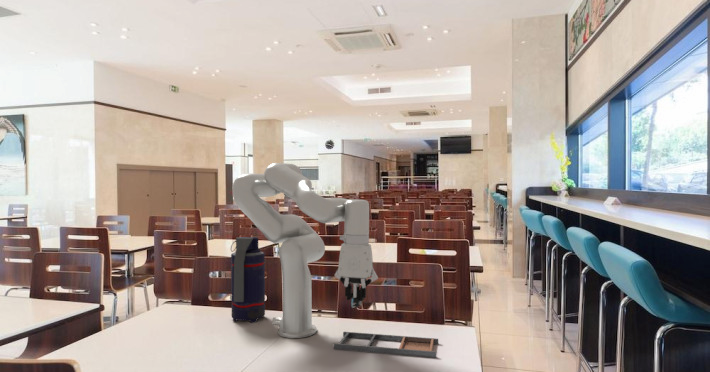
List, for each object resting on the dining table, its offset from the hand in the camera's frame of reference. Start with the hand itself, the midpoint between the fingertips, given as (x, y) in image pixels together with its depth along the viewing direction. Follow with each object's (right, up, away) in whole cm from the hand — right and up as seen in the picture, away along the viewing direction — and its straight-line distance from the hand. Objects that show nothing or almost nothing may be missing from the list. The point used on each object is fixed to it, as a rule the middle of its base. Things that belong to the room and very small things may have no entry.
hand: (355, 298), depth 134 cm
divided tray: (+9, -14, -2) cm, 17 cm away
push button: (0, -2, 0) cm, 2 cm away
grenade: (-39, -14, +25) cm, 49 cm away
